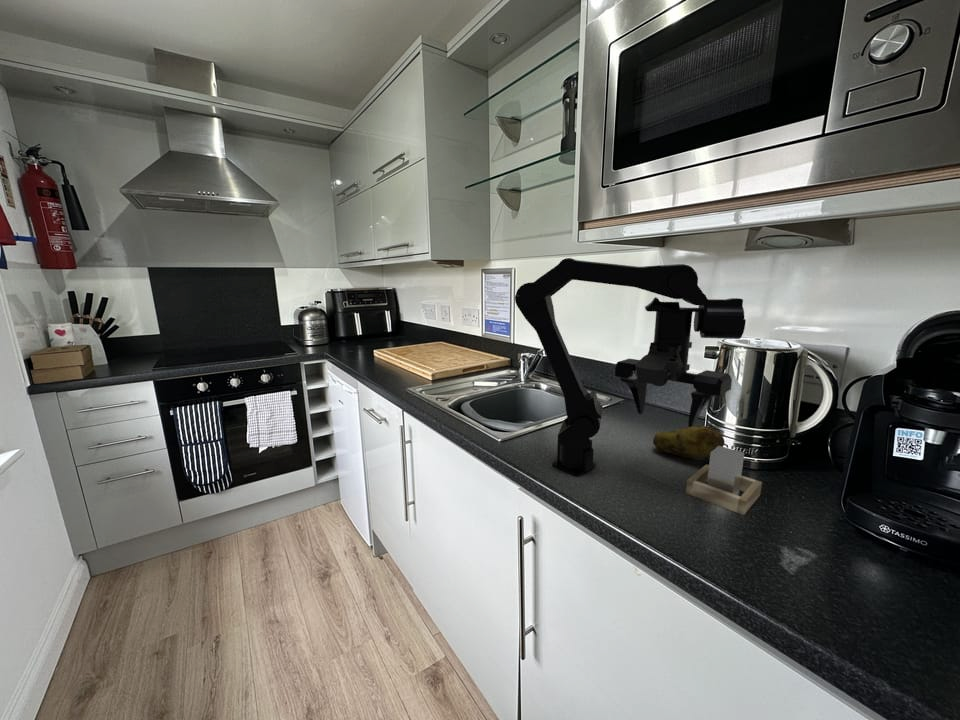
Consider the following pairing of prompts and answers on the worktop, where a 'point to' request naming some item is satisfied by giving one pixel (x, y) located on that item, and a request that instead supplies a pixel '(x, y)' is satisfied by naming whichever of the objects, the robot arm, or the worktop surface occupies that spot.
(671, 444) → the potato
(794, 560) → the worktop surface
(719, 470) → the brushed grey square prism
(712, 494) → the frame
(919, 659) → the worktop surface
